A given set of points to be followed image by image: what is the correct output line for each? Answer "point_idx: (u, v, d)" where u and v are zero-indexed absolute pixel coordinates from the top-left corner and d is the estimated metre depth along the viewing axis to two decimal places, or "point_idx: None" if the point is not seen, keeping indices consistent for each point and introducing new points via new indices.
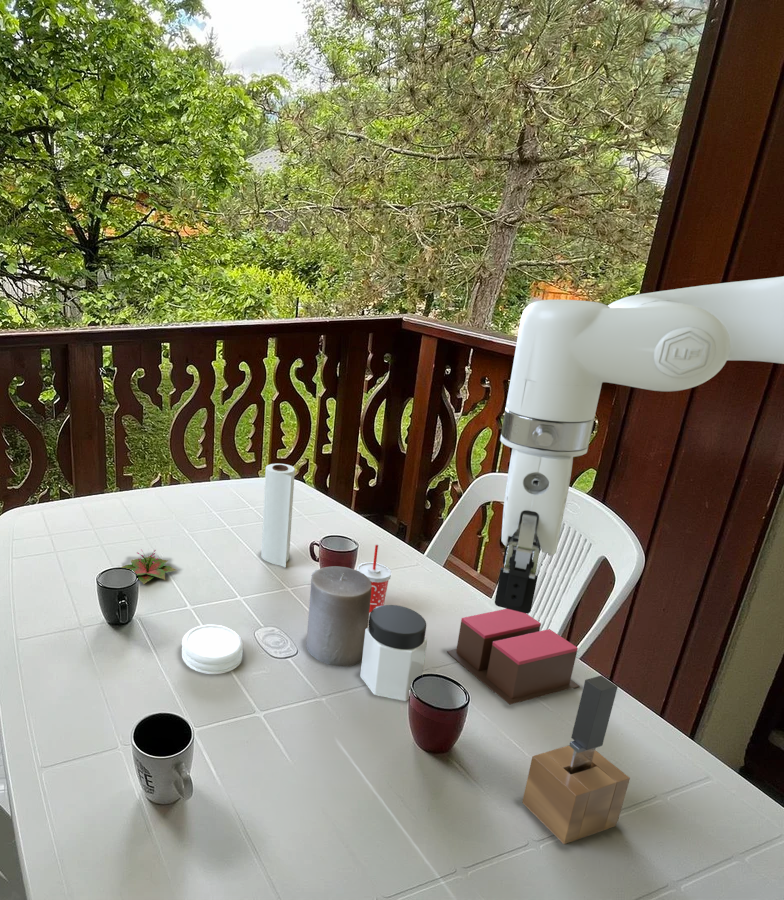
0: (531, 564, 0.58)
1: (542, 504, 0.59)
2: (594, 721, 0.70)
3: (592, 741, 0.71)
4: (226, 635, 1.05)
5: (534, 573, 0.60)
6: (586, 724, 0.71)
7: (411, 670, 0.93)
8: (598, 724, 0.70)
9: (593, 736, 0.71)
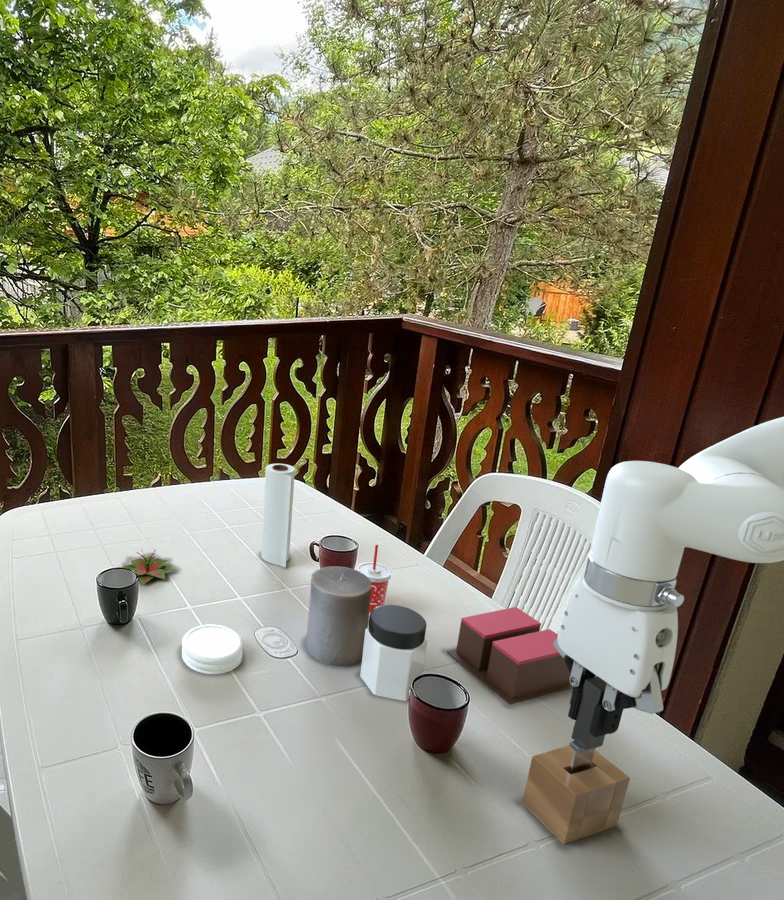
0: None
1: (667, 653, 0.63)
2: None
3: (593, 741, 0.71)
4: (226, 635, 1.05)
5: None
6: (586, 724, 0.71)
7: (411, 670, 0.93)
8: None
9: (593, 736, 0.71)
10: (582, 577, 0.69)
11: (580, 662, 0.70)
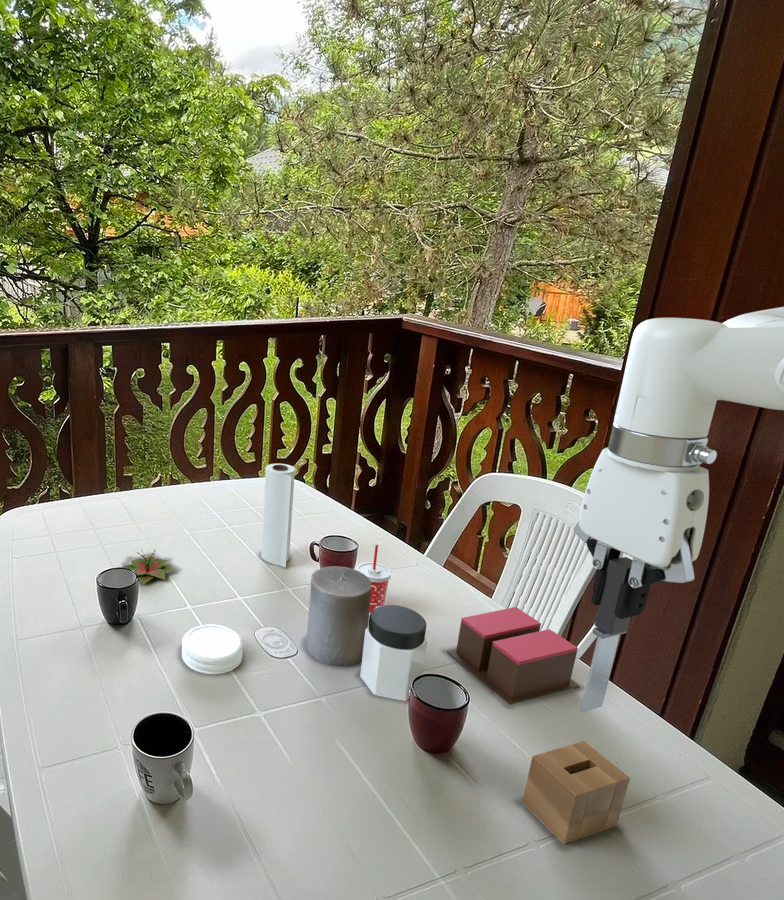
0: None
1: (698, 518, 0.60)
2: None
3: (617, 626, 0.68)
4: (226, 635, 1.05)
5: None
6: (611, 607, 0.68)
7: (411, 670, 0.93)
8: None
9: (618, 620, 0.68)
10: (606, 450, 0.66)
11: (604, 540, 0.67)
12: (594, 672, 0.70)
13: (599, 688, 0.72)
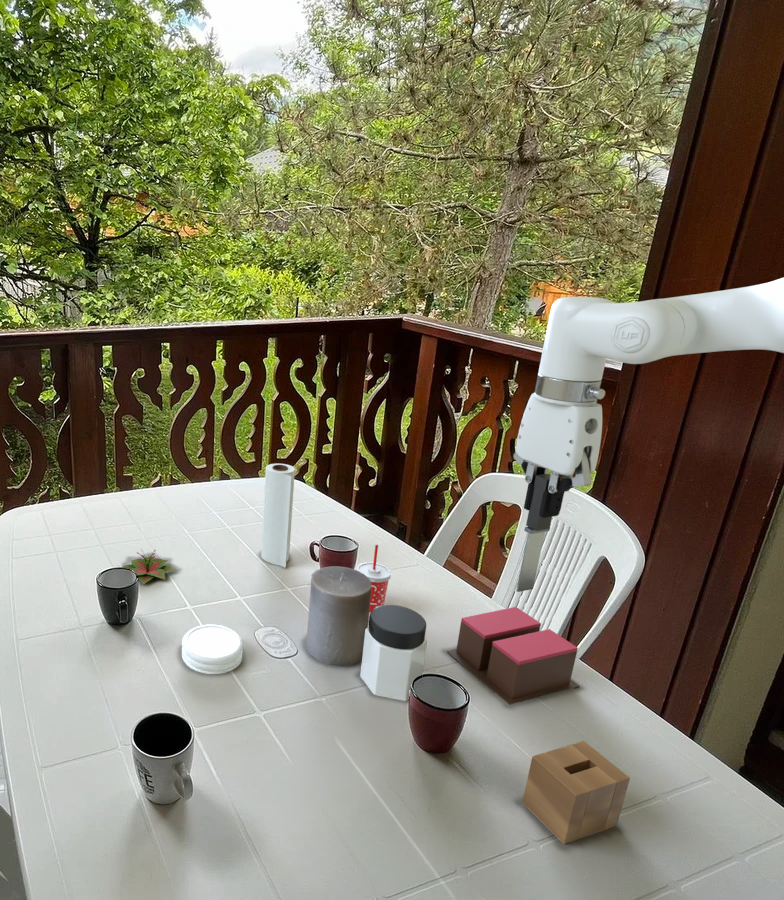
0: None
1: (594, 439, 0.85)
2: None
3: (541, 524, 0.92)
4: (226, 635, 1.05)
5: (568, 489, 0.90)
6: (537, 510, 0.92)
7: (411, 670, 0.93)
8: None
9: (542, 519, 0.92)
10: (534, 394, 0.90)
11: (532, 460, 0.91)
12: (525, 561, 0.95)
13: (530, 574, 0.96)
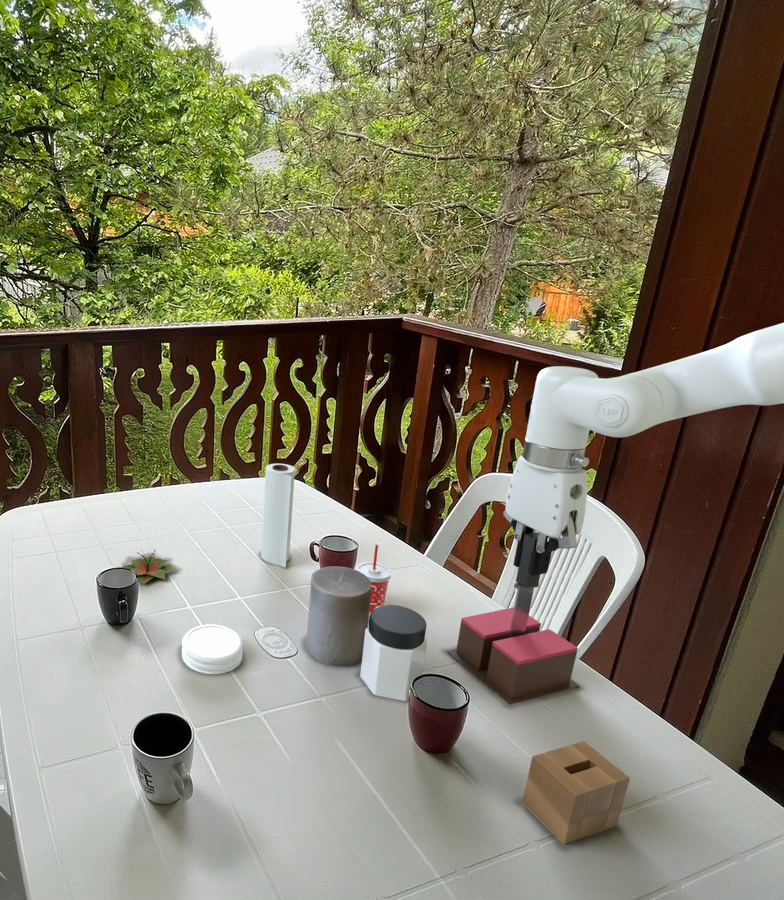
0: None
1: (579, 504, 0.88)
2: None
3: (530, 581, 0.96)
4: (226, 635, 1.05)
5: (556, 549, 0.93)
6: (525, 567, 0.95)
7: (411, 670, 0.93)
8: None
9: (530, 576, 0.95)
10: (522, 457, 0.94)
11: (521, 520, 0.94)
12: (515, 615, 0.98)
13: (520, 627, 0.99)
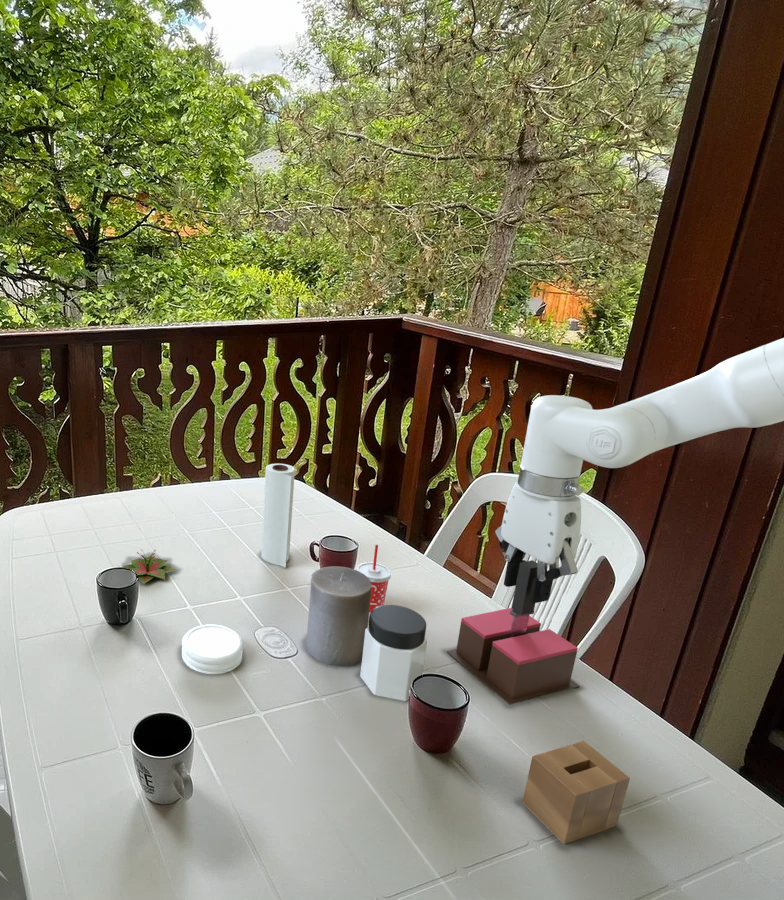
0: None
1: (573, 531, 0.89)
2: (526, 592, 0.96)
3: (526, 608, 0.97)
4: (226, 635, 1.05)
5: None
6: (521, 595, 0.97)
7: (411, 670, 0.93)
8: (529, 595, 0.96)
9: (526, 604, 0.97)
10: (517, 483, 0.95)
11: (516, 545, 0.96)
12: None
13: None
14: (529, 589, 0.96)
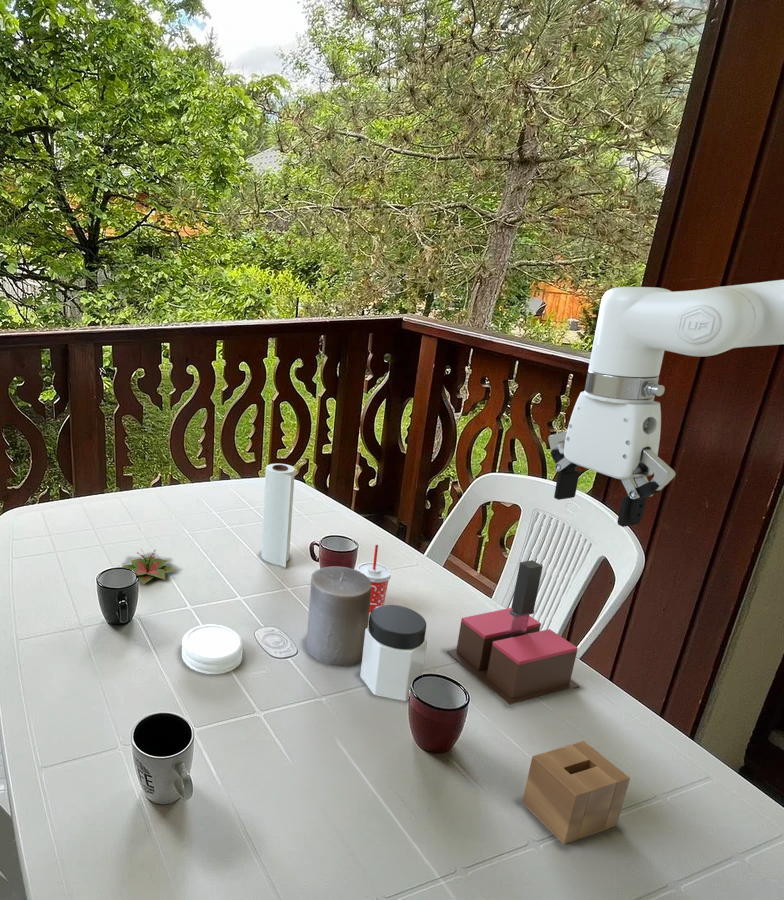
0: None
1: (653, 439, 0.79)
2: (526, 592, 0.96)
3: (526, 608, 0.97)
4: (226, 635, 1.05)
5: None
6: (521, 595, 0.97)
7: (411, 670, 0.93)
8: (529, 595, 0.96)
9: (526, 604, 0.97)
10: (583, 392, 0.84)
11: (582, 464, 0.85)
12: None
13: None
14: (529, 589, 0.96)
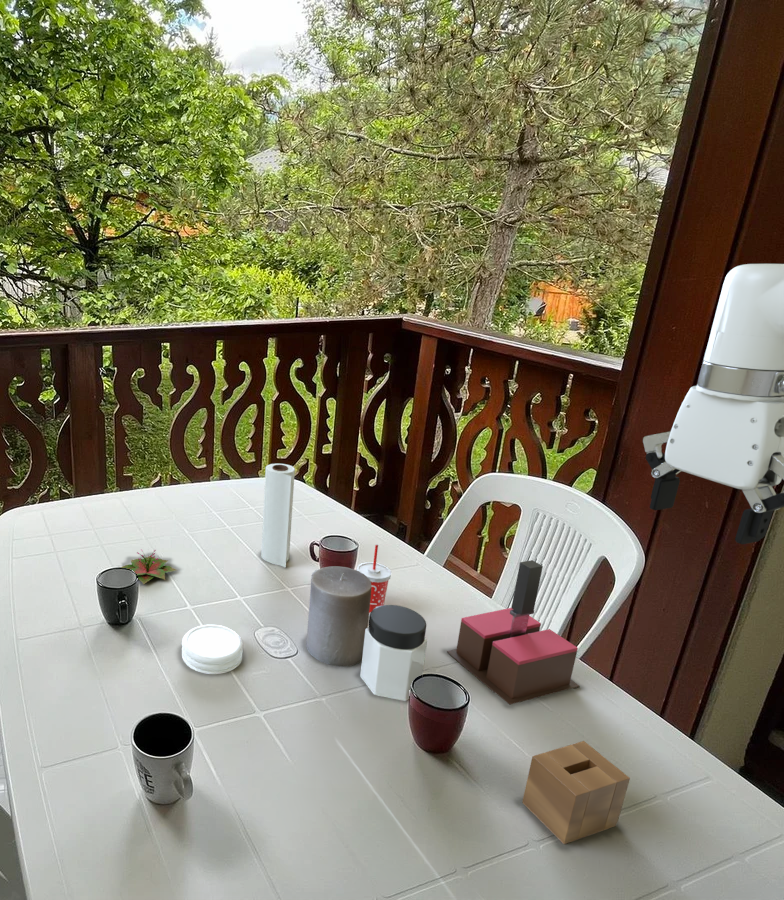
0: None
1: None
2: (526, 592, 0.96)
3: (526, 608, 0.97)
4: (226, 635, 1.05)
5: None
6: (521, 595, 0.97)
7: (411, 670, 0.93)
8: (529, 595, 0.96)
9: (526, 604, 0.97)
10: (694, 387, 0.73)
11: (691, 470, 0.73)
12: None
13: None
14: (529, 589, 0.96)
